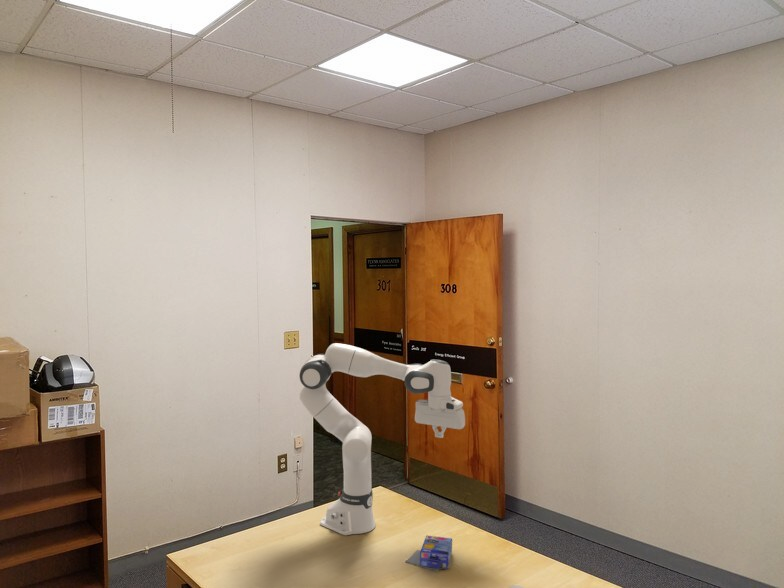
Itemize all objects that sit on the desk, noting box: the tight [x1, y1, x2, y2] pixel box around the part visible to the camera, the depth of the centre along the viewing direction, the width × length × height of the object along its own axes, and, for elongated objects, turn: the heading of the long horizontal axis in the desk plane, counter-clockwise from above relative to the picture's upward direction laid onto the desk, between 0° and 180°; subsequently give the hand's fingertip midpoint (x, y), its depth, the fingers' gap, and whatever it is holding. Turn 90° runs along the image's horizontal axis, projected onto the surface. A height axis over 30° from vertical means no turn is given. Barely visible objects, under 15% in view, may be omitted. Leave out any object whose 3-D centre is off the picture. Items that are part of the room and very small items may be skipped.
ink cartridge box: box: [419, 534, 453, 570], centre depth 191 cm, size 10×6×14 cm
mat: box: [405, 549, 441, 572], centre depth 192 cm, size 12×9×1 cm
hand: (439, 437), depth 213 cm, fingers closed
